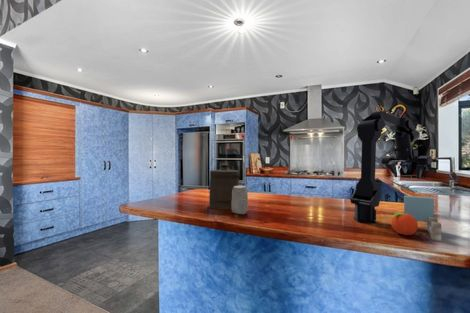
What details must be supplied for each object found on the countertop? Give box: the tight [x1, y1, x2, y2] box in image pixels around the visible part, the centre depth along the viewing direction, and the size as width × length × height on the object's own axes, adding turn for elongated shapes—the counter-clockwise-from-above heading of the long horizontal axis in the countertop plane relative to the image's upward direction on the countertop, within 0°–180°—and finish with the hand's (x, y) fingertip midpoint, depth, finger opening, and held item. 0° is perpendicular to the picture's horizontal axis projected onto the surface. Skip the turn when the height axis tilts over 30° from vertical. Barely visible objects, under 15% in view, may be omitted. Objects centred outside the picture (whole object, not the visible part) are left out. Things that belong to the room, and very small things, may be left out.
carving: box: [231, 185, 249, 215], centre depth 100 cm, size 6×8×12 cm
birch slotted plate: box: [428, 216, 442, 242], centre depth 72 cm, size 2×10×5 cm, turn 145°
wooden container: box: [208, 162, 240, 210], centre depth 115 cm, size 15×15×22 cm
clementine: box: [390, 212, 419, 236], centre depth 74 cm, size 8×7×7 cm
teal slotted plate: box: [403, 195, 435, 231], centre depth 80 cm, size 8×2×11 cm, turn 55°
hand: (407, 177), depth 107 cm, fingers open, 9 cm apart
